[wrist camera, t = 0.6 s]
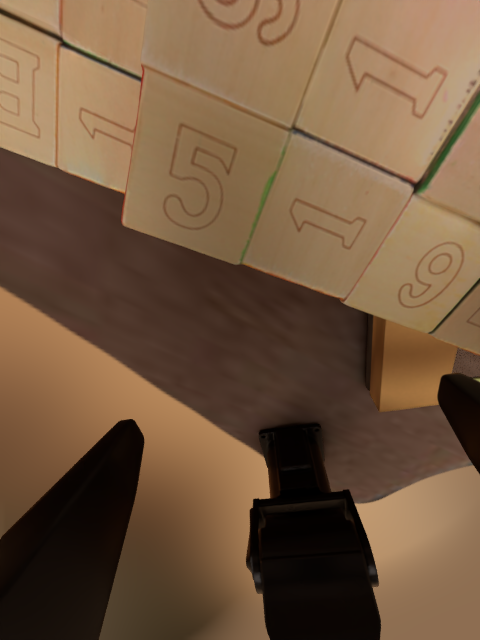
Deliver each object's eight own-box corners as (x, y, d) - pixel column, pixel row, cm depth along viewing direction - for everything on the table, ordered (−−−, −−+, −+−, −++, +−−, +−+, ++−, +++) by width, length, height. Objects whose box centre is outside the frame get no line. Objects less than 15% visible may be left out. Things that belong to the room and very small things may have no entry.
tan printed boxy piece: (35, 116, 15) (-426, 32, 5) (34, -48, 12) (-1259, -1296, 2) (363, 252, 19) (512, 372, 9) (425, 153, 16) (773, 154, 6)
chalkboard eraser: (419, 374, 25) (444, 404, 22) (363, 382, 25) (379, 412, 22) (437, 271, 20) (471, 292, 17) (365, 284, 20) (387, 307, 17)
